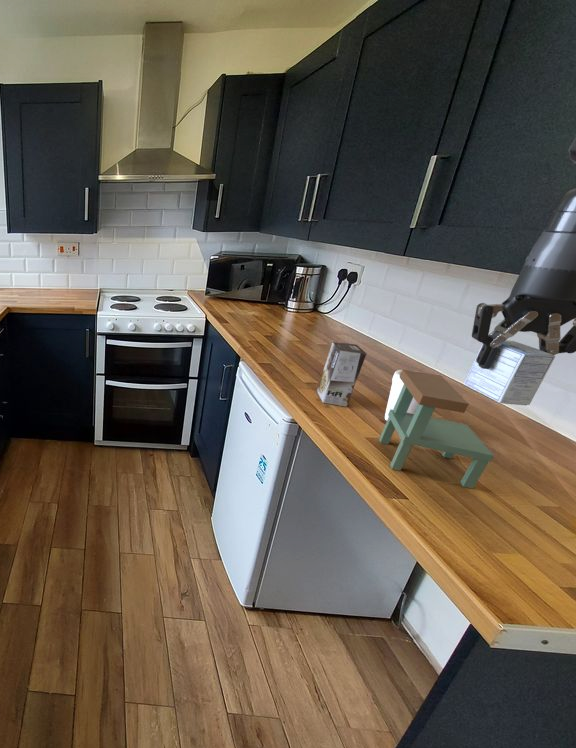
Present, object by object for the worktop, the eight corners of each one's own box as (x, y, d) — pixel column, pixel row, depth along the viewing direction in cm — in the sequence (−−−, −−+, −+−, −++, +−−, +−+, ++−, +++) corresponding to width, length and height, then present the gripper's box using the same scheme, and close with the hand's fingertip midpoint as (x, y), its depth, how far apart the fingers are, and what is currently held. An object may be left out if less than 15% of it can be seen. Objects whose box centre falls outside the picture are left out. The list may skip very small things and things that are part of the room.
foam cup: (423, 434, 100) (445, 387, 95) (378, 423, 105) (397, 378, 100) (418, 419, 108) (438, 375, 102) (376, 410, 112) (394, 367, 107)
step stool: (449, 453, 93) (485, 382, 86) (476, 492, 80) (522, 413, 72) (374, 436, 99) (402, 369, 91) (388, 471, 86) (422, 395, 78)
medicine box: (529, 406, 64) (558, 355, 60) (498, 403, 65) (525, 353, 61) (490, 386, 71) (514, 340, 68) (462, 384, 72) (484, 338, 68)
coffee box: (347, 407, 113) (367, 353, 107) (322, 403, 115) (340, 350, 108) (339, 394, 121) (357, 344, 114) (315, 390, 123) (332, 340, 116)
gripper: (509, 263, 59) (459, 370, 66) (652, 273, 53) (581, 388, 60) (487, 258, 65) (443, 356, 72) (613, 266, 59) (552, 371, 66)
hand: (506, 370), depth 66 cm, fingers closed on medicine box, 5 cm apart
